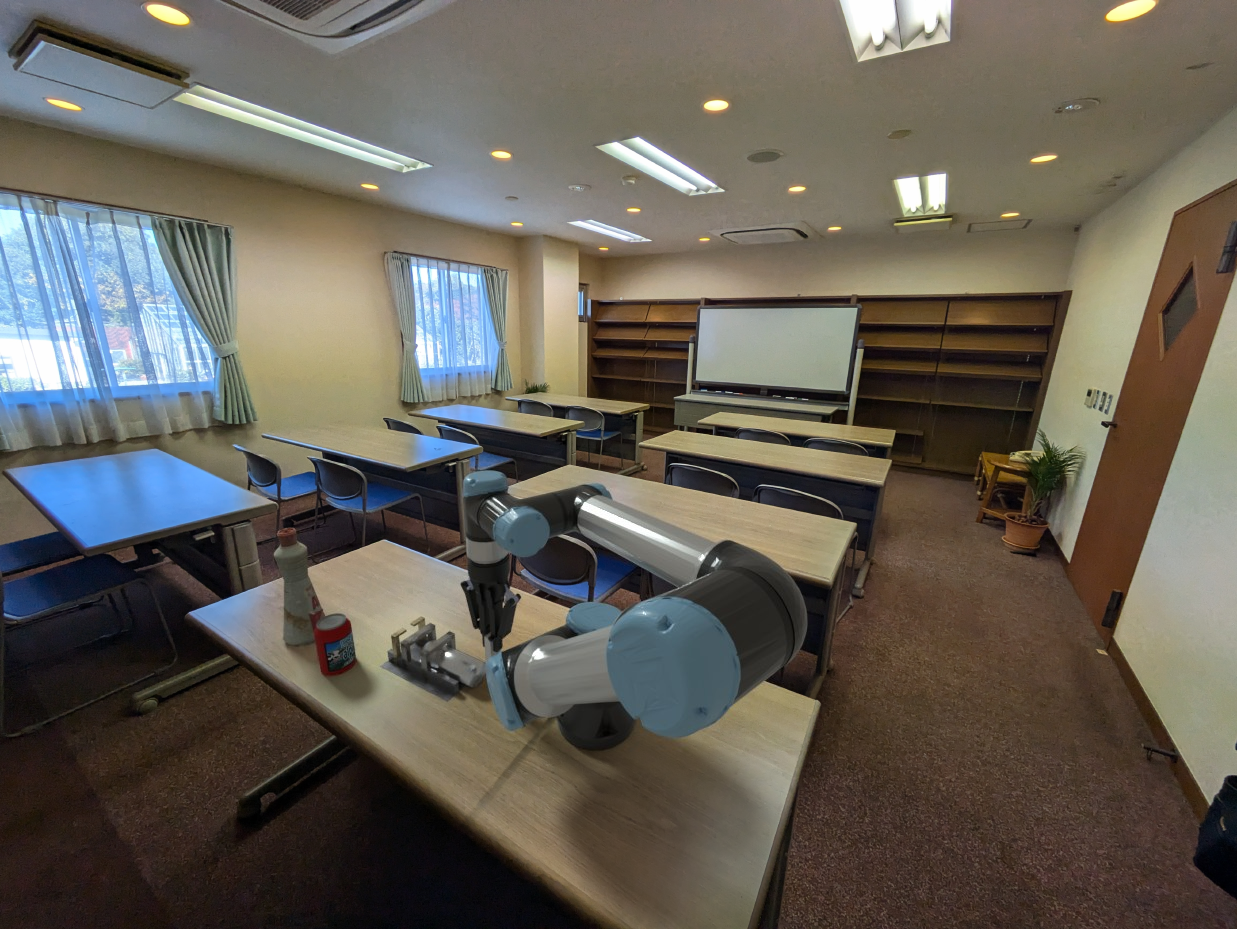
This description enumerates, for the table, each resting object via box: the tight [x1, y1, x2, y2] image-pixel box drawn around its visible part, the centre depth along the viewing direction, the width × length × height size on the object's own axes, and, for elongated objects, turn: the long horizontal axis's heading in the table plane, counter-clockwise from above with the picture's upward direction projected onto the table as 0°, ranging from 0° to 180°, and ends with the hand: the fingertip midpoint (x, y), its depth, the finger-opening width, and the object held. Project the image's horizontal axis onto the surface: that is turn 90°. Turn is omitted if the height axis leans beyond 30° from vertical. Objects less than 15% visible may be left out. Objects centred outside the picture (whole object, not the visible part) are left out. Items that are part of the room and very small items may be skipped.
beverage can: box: [314, 612, 357, 677], centre depth 98 cm, size 7×7×12 cm
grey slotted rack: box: [379, 616, 486, 702], centre depth 100 cm, size 20×12×8 cm, turn 63°
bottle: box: [273, 527, 326, 647], centre depth 106 cm, size 9×9×28 cm
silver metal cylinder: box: [420, 640, 486, 688], centre depth 98 cm, size 14×5×5 cm, turn 63°
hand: (493, 662), depth 91 cm, fingers closed
